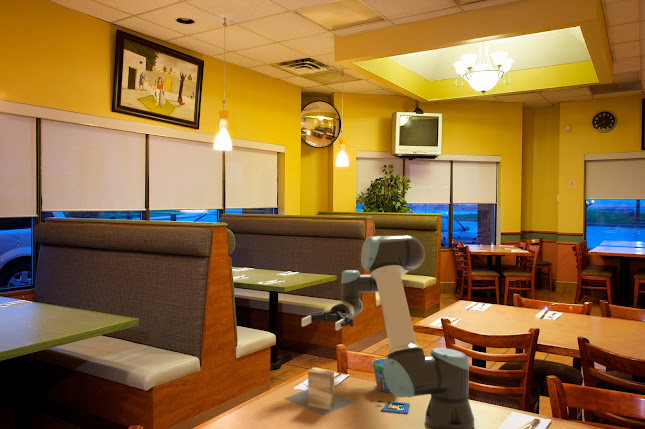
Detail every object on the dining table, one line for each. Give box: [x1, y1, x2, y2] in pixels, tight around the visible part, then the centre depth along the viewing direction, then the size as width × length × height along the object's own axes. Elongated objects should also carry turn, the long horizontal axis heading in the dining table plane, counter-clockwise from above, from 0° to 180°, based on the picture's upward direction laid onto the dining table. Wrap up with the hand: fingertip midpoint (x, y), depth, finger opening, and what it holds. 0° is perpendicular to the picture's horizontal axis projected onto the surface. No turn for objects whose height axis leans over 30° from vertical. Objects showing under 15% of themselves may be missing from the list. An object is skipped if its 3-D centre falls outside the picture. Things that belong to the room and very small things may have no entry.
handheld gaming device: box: [371, 400, 411, 415], centre depth 174 cm, size 8×1×15 cm
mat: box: [283, 389, 356, 416], centre depth 179 cm, size 20×16×1 cm
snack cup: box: [372, 358, 392, 393], centre depth 190 cm, size 16×10×10 cm
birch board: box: [307, 367, 335, 410], centre depth 174 cm, size 4×8×12 cm, turn 65°
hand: (319, 324), depth 184 cm, fingers open, 13 cm apart
